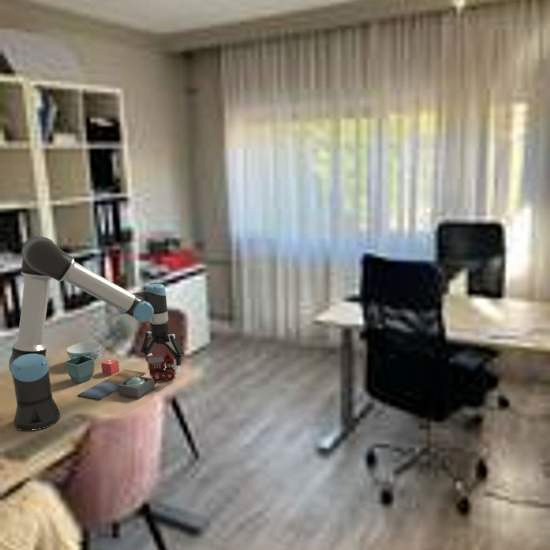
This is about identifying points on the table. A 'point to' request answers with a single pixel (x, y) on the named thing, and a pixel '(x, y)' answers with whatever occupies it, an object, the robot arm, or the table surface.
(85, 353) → the chinaware
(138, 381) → the dome cap
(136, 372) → the board
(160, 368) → the toy fire truck
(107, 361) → the die
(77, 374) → the flower pot
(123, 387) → the dome housing
